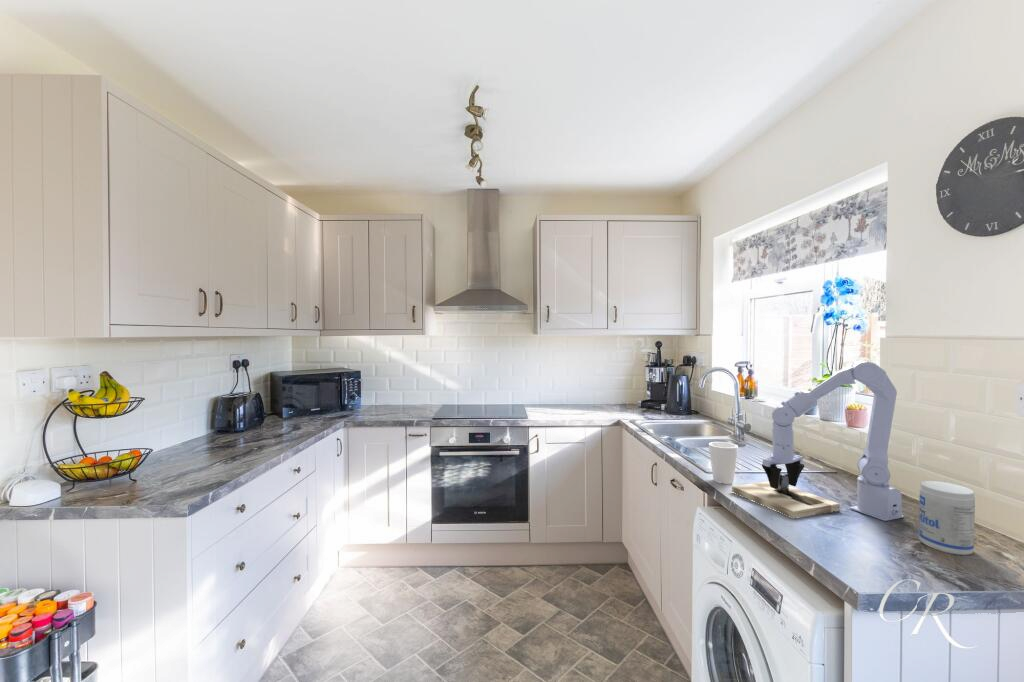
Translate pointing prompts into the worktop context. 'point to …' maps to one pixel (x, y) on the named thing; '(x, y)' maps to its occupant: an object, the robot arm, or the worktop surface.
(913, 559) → the worktop surface
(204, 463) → the worktop surface
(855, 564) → the worktop surface
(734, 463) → the foam cup
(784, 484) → the peg
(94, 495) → the worktop surface
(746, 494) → the keyhole board
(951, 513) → the supplement tub
